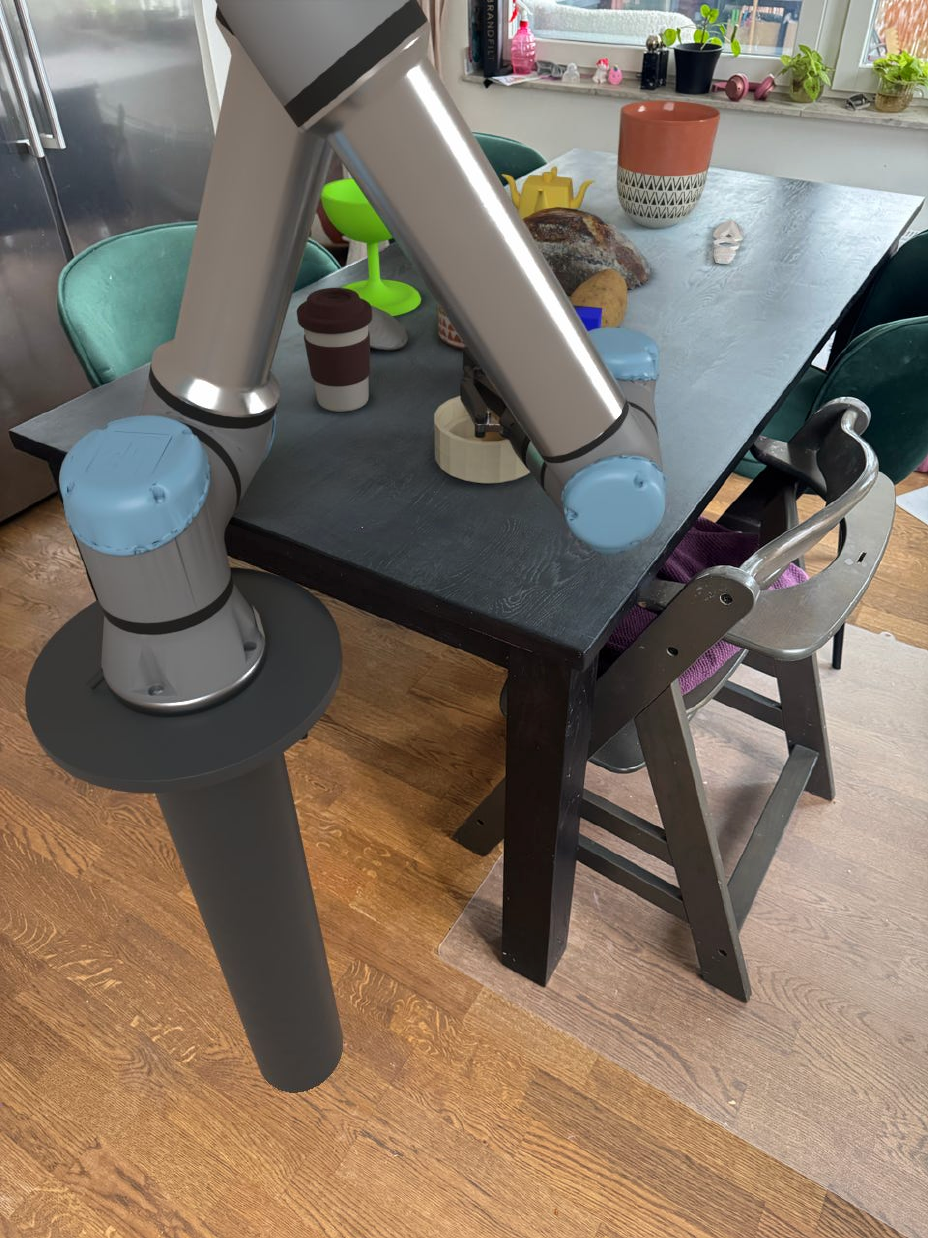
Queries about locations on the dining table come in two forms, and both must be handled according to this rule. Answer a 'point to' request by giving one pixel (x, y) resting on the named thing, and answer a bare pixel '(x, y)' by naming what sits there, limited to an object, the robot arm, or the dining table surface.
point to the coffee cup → (337, 346)
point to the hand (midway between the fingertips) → (480, 356)
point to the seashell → (386, 331)
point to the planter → (664, 159)
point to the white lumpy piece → (723, 252)
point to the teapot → (545, 192)
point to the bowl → (471, 449)
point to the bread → (584, 247)
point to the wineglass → (365, 226)
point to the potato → (604, 296)
